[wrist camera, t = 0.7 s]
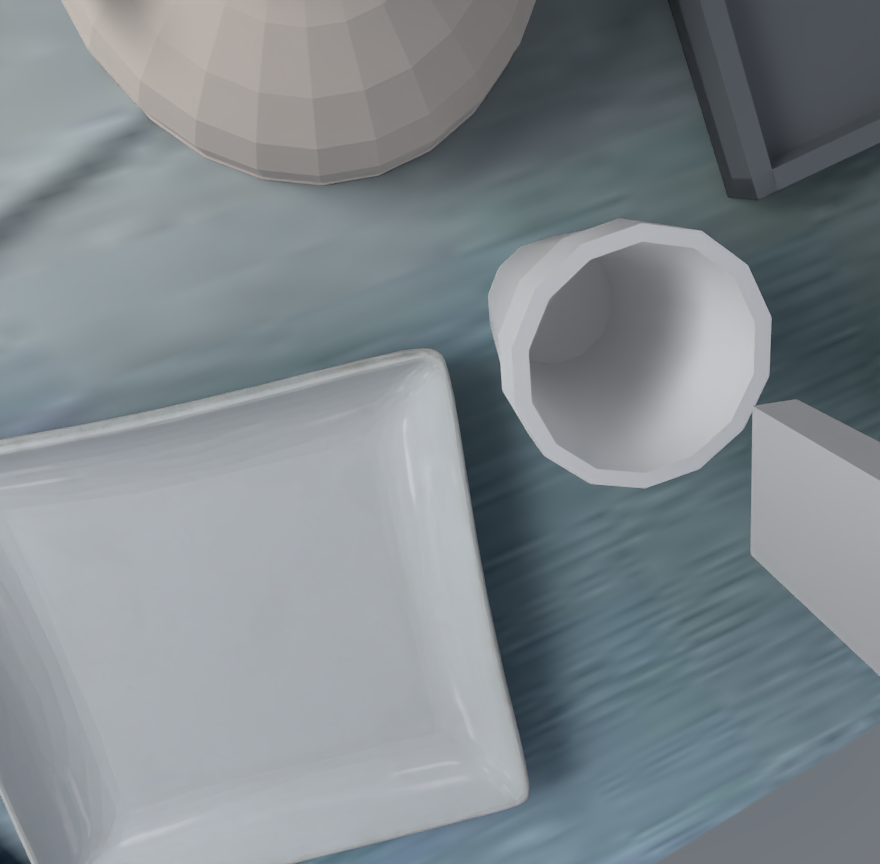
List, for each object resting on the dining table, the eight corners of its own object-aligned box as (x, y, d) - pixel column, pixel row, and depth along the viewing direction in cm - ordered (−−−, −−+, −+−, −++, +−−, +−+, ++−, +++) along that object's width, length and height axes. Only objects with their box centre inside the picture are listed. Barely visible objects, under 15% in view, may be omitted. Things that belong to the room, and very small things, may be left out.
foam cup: (617, 178, 39) (747, 185, 27) (660, 356, 42) (793, 435, 30) (430, 244, 39) (475, 281, 27) (487, 417, 42) (550, 522, 30)
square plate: (434, 327, 41) (444, 343, 37) (520, 763, 50) (535, 810, 46) (-116, 447, 39) (-162, 475, 36) (74, 874, 48) (53, 933, 45)
